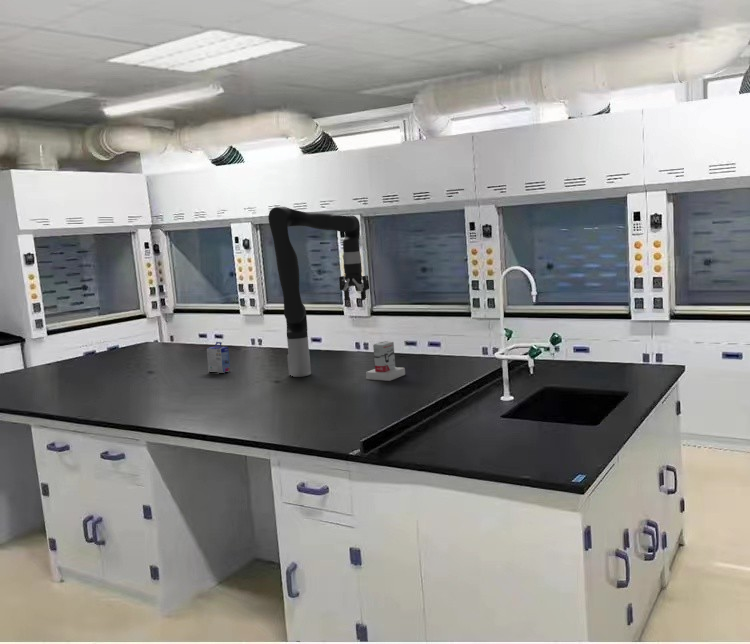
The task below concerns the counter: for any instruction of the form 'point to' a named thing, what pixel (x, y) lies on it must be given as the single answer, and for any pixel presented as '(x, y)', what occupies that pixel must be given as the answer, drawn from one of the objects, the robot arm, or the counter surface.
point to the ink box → (384, 356)
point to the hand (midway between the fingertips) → (355, 299)
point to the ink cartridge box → (218, 358)
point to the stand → (385, 374)
